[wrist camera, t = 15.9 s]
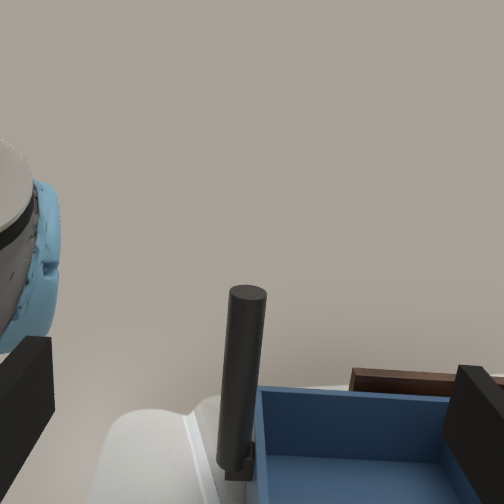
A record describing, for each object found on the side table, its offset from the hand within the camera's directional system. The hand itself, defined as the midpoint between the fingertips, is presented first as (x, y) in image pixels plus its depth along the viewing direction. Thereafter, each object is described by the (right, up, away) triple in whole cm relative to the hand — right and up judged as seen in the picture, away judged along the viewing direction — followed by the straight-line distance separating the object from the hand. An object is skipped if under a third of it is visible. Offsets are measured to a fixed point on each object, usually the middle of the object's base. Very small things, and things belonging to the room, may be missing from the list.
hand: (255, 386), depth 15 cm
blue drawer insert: (+6, -13, +15) cm, 20 cm away
